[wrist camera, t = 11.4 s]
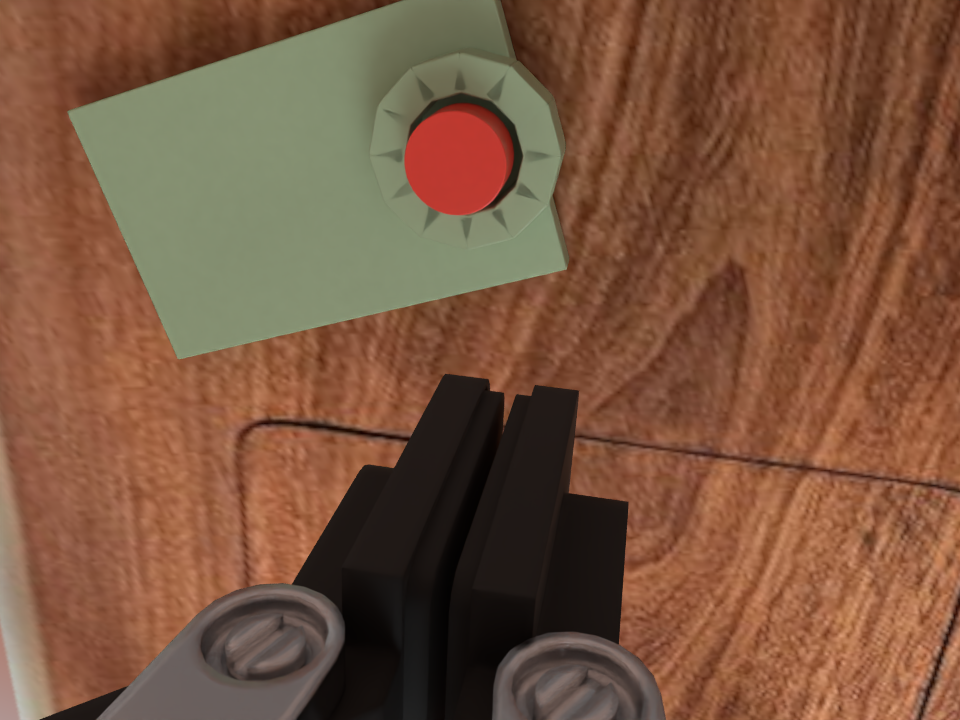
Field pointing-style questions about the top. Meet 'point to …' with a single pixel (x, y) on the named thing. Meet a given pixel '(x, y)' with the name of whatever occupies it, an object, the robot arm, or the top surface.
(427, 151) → the button
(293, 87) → the button box
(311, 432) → the top surface
